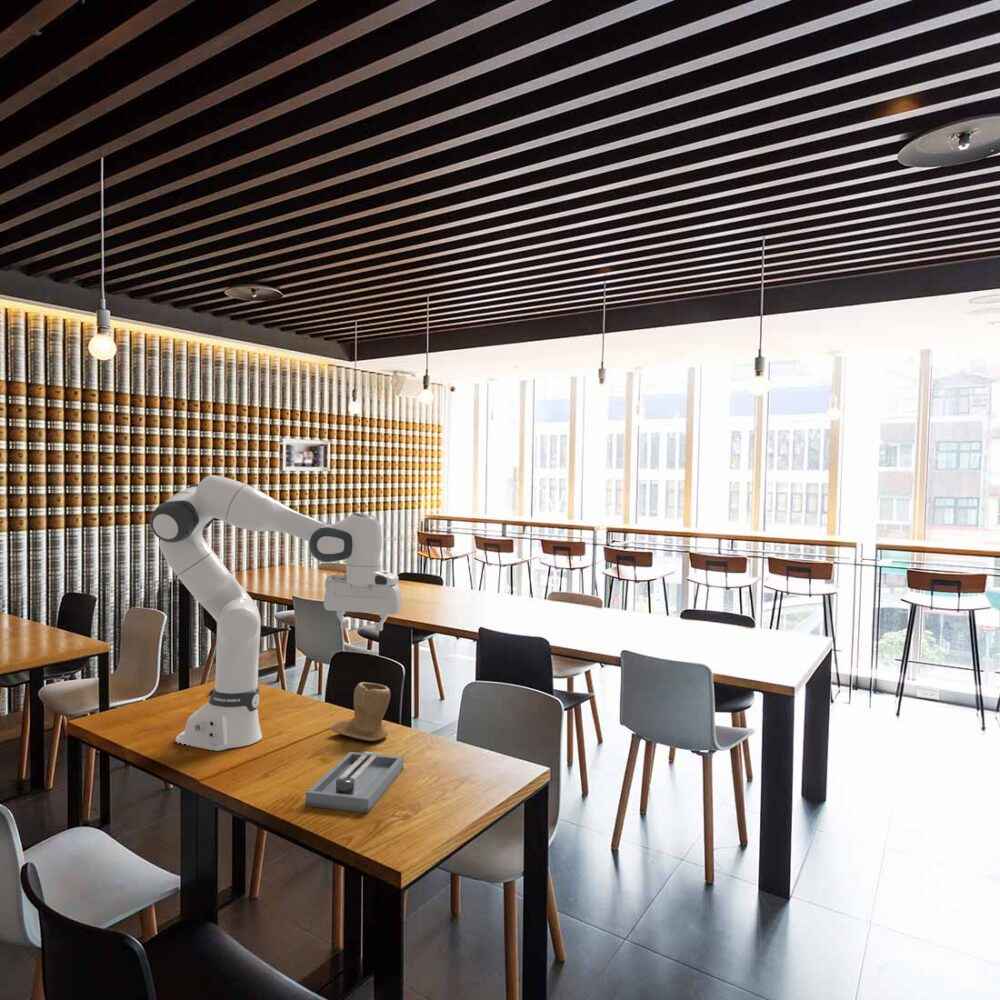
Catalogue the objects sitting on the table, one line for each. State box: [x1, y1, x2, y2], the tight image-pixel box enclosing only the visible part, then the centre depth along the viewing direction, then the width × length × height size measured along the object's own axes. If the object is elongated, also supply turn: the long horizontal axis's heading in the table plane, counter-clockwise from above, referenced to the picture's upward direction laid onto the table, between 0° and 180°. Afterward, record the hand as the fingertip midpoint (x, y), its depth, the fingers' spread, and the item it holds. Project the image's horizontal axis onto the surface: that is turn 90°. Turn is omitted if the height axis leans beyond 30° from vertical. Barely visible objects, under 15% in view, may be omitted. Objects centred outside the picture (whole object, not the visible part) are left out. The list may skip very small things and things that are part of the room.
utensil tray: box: [305, 751, 405, 814], centre depth 163 cm, size 14×25×3 cm, turn 170°
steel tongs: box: [336, 751, 381, 795], centre depth 163 cm, size 4×20×4 cm, turn 170°
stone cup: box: [330, 681, 391, 742], centre depth 197 cm, size 15×12×15 cm
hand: (361, 629), depth 179 cm, fingers open, 8 cm apart
